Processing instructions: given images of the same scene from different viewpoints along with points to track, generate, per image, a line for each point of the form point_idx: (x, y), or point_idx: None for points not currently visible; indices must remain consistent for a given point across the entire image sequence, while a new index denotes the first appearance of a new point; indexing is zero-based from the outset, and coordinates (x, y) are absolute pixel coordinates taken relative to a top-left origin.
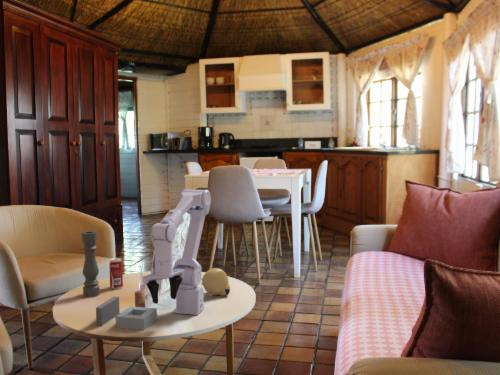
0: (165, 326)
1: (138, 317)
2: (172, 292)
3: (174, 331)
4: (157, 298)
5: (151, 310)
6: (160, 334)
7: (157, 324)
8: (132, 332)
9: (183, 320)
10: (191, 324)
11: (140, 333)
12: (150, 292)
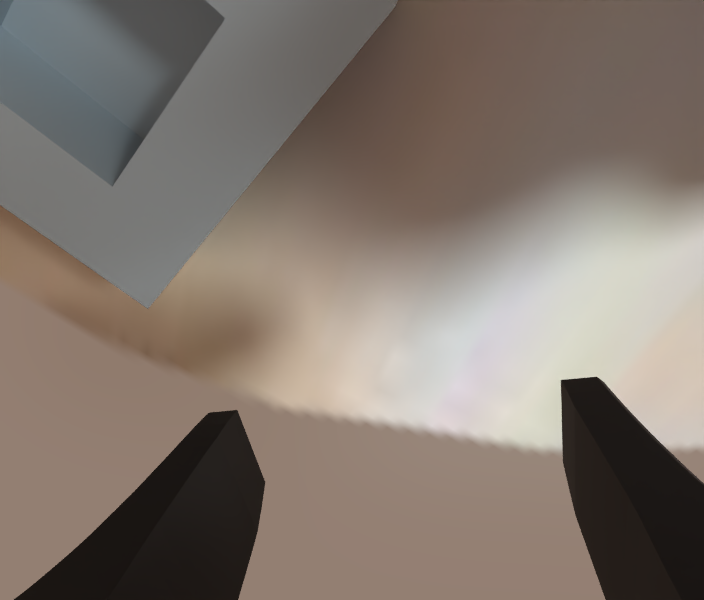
0: (401, 270)
1: (88, 238)
2: (597, 516)
3: (426, 400)
4: (236, 569)
5: (293, 61)
6: (302, 397)
7: (347, 181)
8: None
9: (645, 212)
10: (641, 344)
11: None
12: (88, 551)
